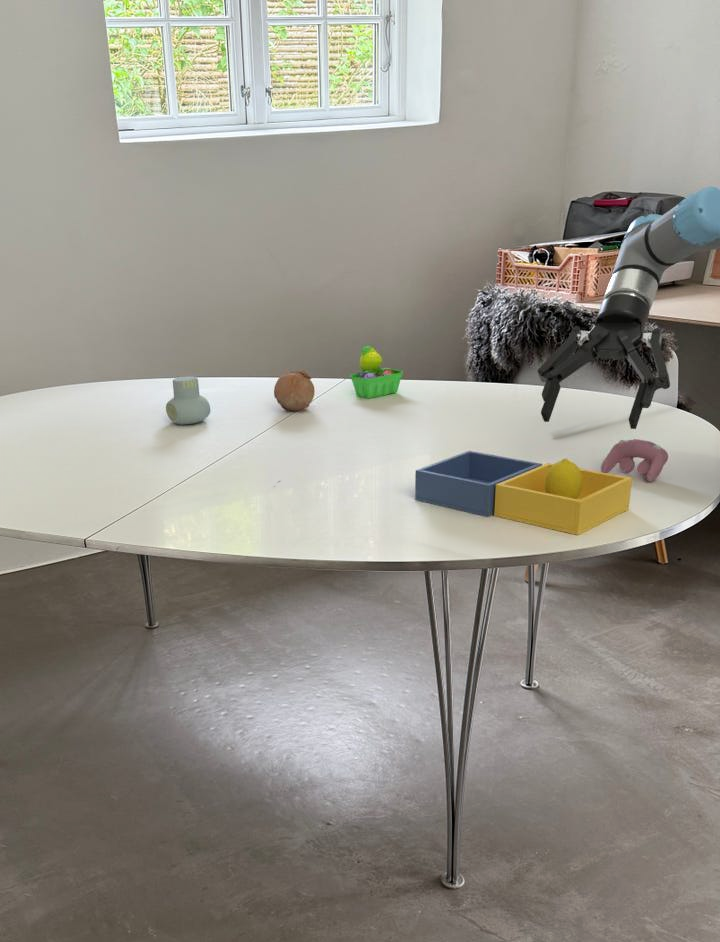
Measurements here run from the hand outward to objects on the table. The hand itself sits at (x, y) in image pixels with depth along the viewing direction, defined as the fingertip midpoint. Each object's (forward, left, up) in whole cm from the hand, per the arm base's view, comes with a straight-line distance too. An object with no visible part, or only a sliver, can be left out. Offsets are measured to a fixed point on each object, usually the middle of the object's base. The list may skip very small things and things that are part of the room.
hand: (587, 420), depth 149 cm
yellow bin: (-1, +8, -13) cm, 15 cm away
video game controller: (0, -16, -13) cm, 20 cm away
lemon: (-1, +8, -12) cm, 15 cm away
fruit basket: (+82, -43, -13) cm, 93 cm away
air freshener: (+100, +2, -13) cm, 100 cm away
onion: (+87, -20, -13) cm, 90 cm away
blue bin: (+14, +9, -13) cm, 21 cm away
